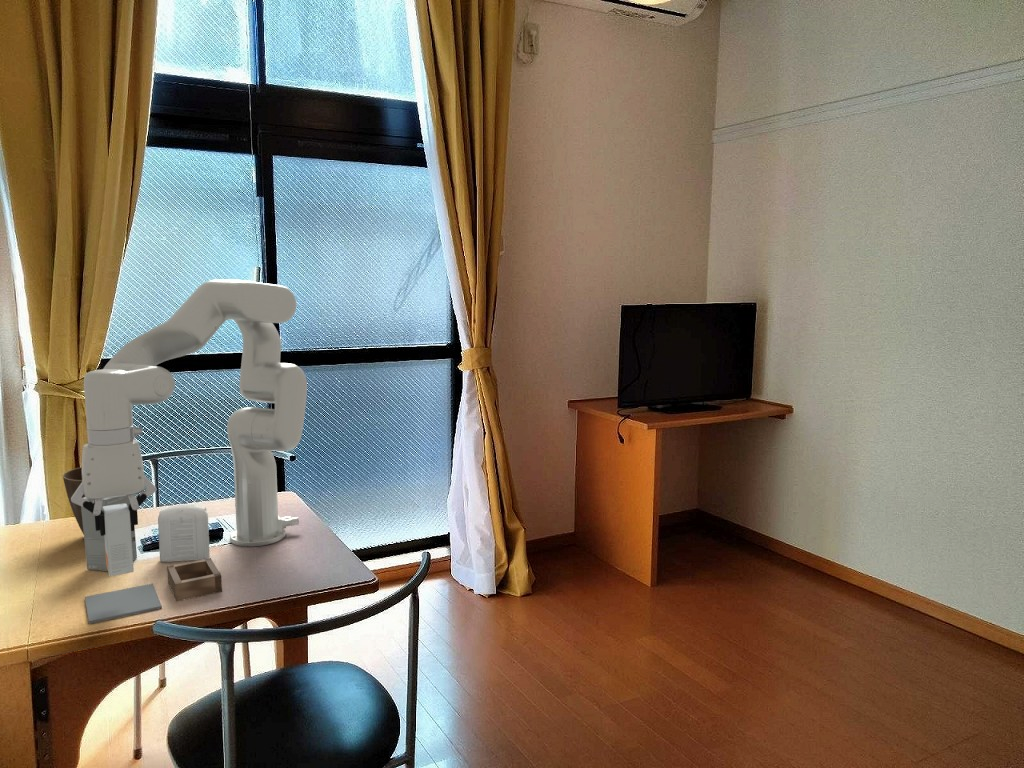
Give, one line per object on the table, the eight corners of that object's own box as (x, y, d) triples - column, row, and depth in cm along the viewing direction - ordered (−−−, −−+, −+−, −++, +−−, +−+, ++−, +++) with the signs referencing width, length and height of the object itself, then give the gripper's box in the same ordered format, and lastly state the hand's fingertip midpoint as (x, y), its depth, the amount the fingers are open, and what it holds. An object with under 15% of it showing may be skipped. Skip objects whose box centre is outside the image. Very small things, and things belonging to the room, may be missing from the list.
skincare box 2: (105, 566, 142) (101, 506, 140) (130, 562, 144) (127, 502, 142) (108, 577, 137) (104, 514, 135) (134, 572, 139) (130, 510, 137)
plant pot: (136, 522, 187) (132, 460, 185) (141, 540, 175) (137, 474, 172) (67, 532, 180) (62, 468, 177) (68, 552, 167) (62, 483, 165)
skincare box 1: (112, 573, 156) (106, 500, 154) (82, 570, 157) (77, 498, 155) (139, 558, 164) (135, 489, 162) (111, 555, 165) (106, 486, 163)
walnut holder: (211, 573, 156) (210, 557, 155) (222, 591, 147) (221, 575, 147) (168, 582, 151) (167, 566, 151) (176, 601, 143) (175, 584, 142)
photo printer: (211, 553, 167) (208, 500, 165) (208, 560, 163) (205, 506, 161) (162, 556, 165) (159, 503, 163) (158, 564, 161) (154, 509, 159)
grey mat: (153, 585, 150) (153, 583, 150) (161, 608, 140) (161, 605, 140) (84, 599, 143) (84, 596, 143) (89, 623, 133) (88, 621, 133)
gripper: (158, 428, 144) (163, 518, 147) (57, 437, 135) (64, 533, 138) (163, 435, 138) (169, 529, 141) (58, 445, 129) (66, 545, 132)
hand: (117, 530), depth 139 cm, fingers closed on skincare box 2, 4 cm apart
